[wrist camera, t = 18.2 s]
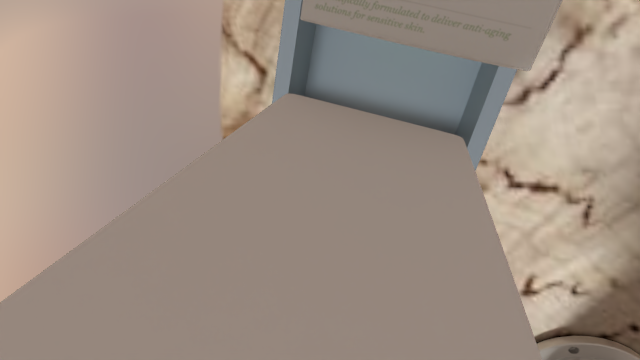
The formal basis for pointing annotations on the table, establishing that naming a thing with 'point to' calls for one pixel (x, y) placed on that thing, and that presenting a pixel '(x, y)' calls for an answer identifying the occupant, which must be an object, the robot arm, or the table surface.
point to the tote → (390, 79)
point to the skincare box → (446, 25)
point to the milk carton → (289, 255)
